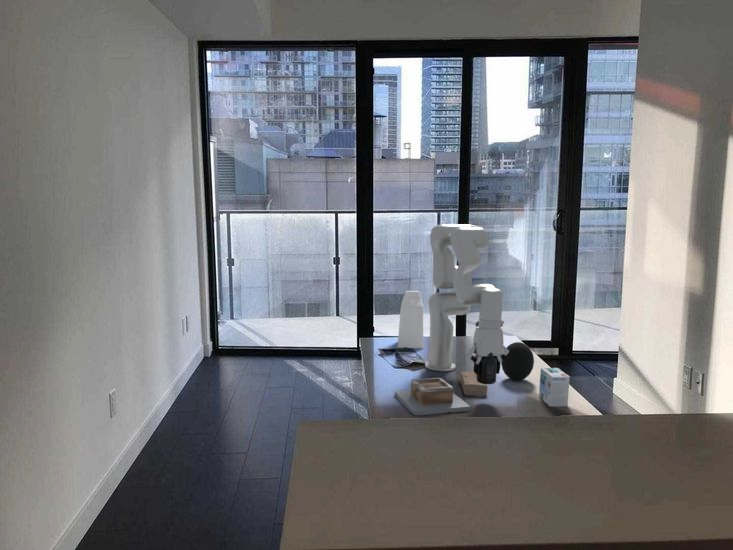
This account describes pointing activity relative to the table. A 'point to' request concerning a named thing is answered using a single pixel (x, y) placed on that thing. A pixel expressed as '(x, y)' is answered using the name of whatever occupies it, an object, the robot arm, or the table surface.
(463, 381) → the brick
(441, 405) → the baseplate
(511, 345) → the decorative egg
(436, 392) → the plinth
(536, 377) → the table surface
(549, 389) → the light bulb box
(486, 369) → the supplement bottle
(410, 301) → the milk
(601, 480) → the table surface
